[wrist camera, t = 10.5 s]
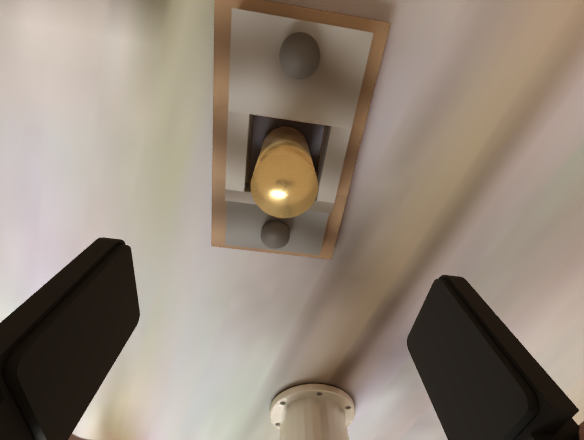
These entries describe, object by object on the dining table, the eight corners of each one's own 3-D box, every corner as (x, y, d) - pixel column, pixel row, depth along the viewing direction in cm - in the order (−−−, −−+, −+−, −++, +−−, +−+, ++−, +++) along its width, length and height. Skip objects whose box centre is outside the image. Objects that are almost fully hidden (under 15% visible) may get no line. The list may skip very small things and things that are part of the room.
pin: (304, 175, 26) (311, 221, 18) (260, 169, 25) (248, 214, 17) (311, 130, 24) (324, 159, 16) (264, 123, 24) (253, 150, 16)
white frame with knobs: (329, 252, 30) (335, 277, 26) (214, 239, 29) (204, 263, 25) (385, 25, 21) (405, 16, 17) (218, -5, 20) (203, -22, 16)
